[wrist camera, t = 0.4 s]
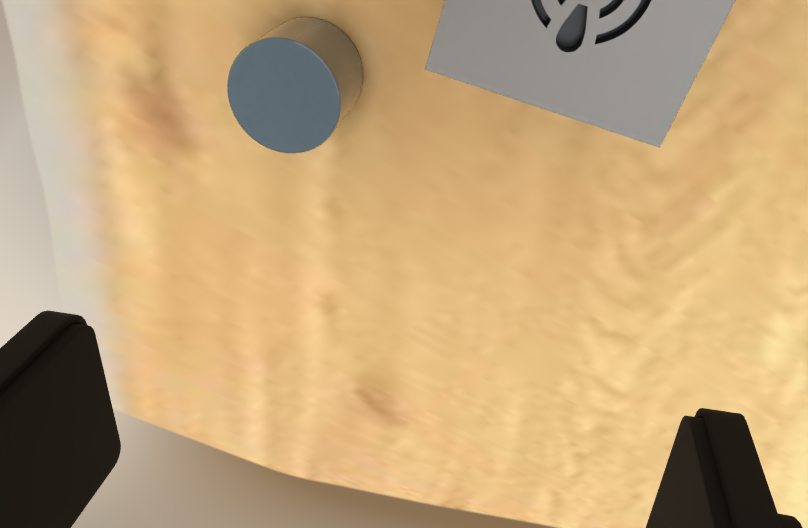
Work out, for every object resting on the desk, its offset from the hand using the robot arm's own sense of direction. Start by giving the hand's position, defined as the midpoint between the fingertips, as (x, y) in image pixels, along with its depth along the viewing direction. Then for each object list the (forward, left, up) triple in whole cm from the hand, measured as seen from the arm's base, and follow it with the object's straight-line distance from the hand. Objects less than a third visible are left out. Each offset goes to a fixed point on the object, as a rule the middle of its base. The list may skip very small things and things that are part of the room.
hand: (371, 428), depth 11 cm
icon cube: (-4, +4, -30) cm, 31 cm away
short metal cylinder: (+3, -10, -30) cm, 32 cm away
